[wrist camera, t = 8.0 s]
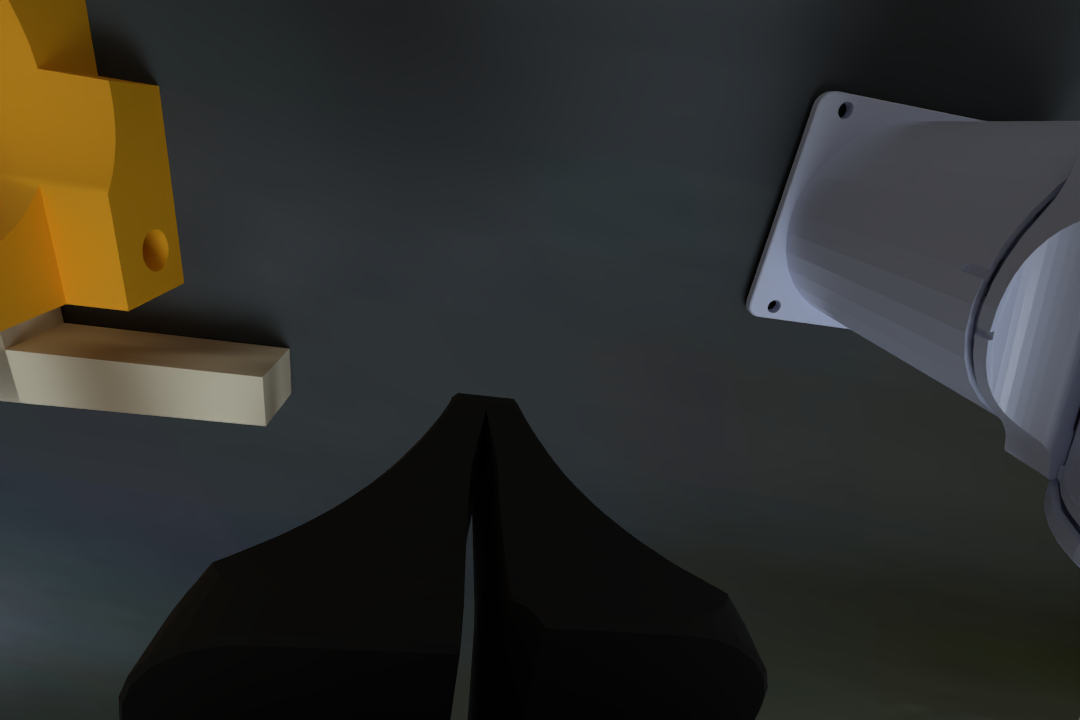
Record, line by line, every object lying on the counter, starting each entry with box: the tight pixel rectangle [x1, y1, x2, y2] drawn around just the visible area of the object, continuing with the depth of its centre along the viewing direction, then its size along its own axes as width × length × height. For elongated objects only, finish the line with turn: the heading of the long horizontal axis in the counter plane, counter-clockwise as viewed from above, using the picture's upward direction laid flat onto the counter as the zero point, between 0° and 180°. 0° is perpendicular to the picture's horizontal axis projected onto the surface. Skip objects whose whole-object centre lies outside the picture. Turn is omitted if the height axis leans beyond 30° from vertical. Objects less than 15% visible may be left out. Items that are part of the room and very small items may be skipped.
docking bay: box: [0, 307, 291, 426], centre depth 15 cm, size 10×20×2 cm, turn 171°
